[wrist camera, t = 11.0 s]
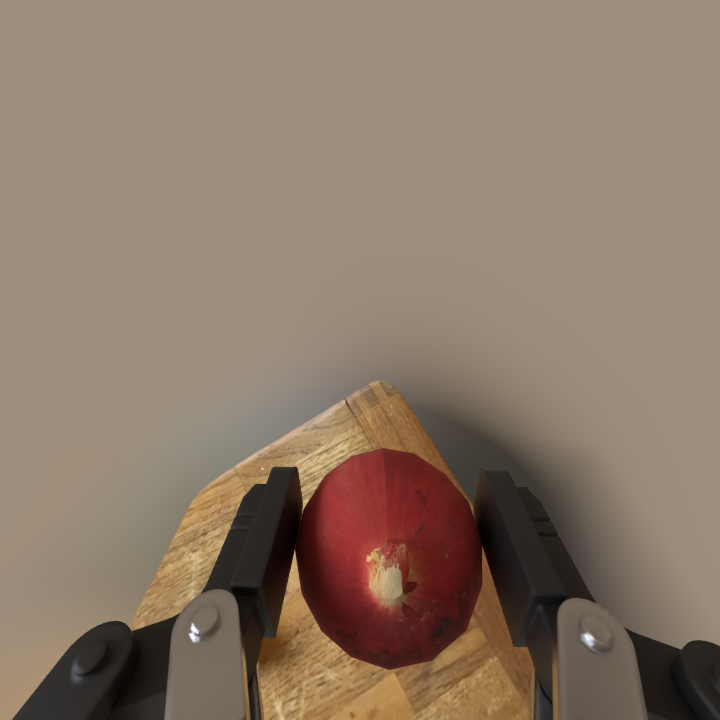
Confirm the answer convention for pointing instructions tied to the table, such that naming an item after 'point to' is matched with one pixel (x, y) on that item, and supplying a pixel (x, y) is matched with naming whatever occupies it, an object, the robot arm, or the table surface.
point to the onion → (389, 558)
